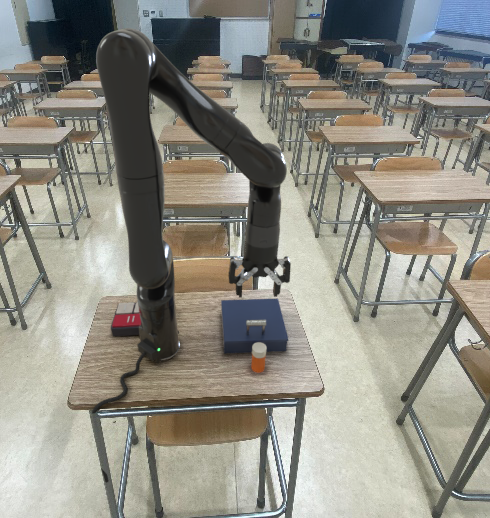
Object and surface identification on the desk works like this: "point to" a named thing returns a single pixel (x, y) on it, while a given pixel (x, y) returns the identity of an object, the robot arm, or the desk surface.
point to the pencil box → (248, 346)
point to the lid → (253, 321)
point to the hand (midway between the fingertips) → (257, 295)
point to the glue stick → (258, 357)
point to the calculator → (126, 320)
